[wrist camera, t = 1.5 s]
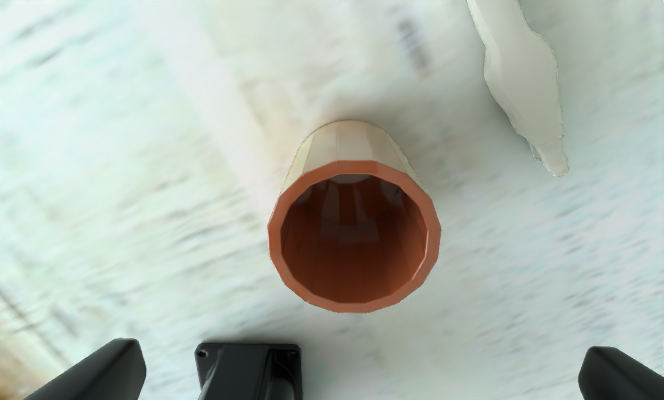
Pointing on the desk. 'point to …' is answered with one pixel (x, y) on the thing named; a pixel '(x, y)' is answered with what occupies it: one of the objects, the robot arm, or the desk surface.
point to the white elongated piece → (522, 78)
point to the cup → (353, 221)
